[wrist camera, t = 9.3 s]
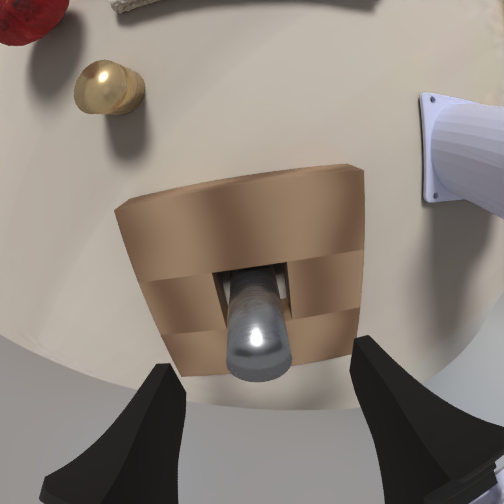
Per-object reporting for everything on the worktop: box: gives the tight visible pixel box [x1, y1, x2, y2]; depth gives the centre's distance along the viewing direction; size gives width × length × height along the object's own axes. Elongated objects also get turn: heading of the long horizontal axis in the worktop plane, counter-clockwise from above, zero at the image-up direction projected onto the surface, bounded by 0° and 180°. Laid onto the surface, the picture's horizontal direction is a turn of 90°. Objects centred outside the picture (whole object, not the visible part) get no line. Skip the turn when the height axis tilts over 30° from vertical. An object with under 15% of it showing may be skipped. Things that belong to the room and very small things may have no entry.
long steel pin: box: [226, 264, 292, 382], centre depth 15 cm, size 3×3×8 cm
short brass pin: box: [74, 60, 145, 115], centre depth 12 cm, size 3×3×4 cm
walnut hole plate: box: [114, 164, 365, 377], centre depth 18 cm, size 14×14×2 cm
